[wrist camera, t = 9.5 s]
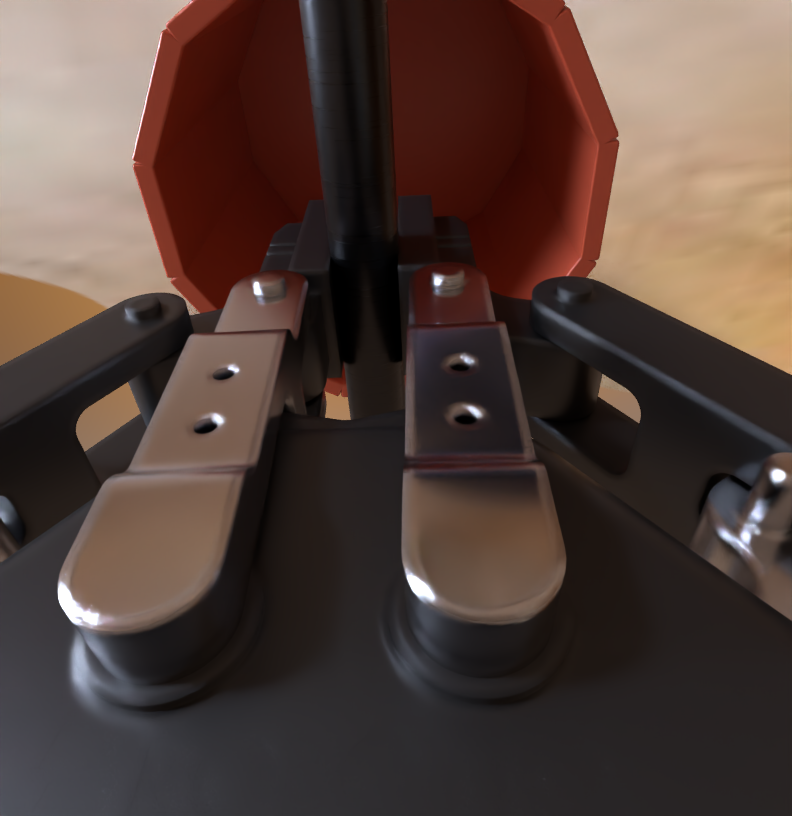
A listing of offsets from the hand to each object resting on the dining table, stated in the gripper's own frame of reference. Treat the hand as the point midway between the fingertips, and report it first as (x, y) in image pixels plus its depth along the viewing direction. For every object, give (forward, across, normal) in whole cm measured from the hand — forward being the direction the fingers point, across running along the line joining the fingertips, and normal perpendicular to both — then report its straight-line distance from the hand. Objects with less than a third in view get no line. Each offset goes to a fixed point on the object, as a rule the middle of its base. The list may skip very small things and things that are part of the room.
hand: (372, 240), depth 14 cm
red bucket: (+12, 0, 0) cm, 12 cm away
